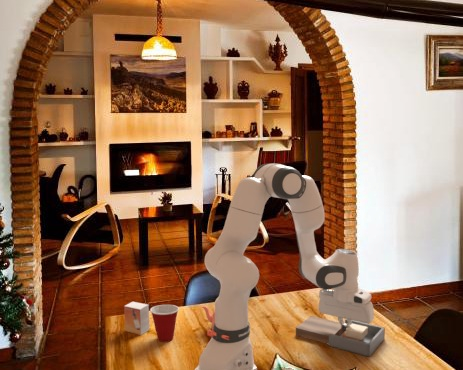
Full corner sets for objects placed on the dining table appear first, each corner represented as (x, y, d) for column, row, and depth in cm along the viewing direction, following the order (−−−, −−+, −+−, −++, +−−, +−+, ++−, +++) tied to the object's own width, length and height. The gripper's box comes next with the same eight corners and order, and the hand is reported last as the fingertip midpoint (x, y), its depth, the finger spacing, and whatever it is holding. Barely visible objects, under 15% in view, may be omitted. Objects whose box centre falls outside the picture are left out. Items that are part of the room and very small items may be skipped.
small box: (124, 331, 194) (123, 305, 192) (133, 326, 198) (132, 300, 197) (141, 335, 190) (139, 309, 188) (150, 329, 195) (148, 304, 193)
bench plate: (331, 344, 179) (331, 337, 179) (295, 335, 187) (295, 327, 187) (345, 331, 190) (345, 324, 189) (310, 322, 198) (311, 315, 197)
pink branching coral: (244, 337, 187) (244, 311, 185) (198, 335, 189) (197, 309, 188) (248, 324, 198) (248, 299, 196) (204, 322, 201) (203, 297, 199)
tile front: (358, 345, 177) (358, 338, 177) (342, 341, 181) (342, 334, 180) (363, 338, 182) (363, 332, 182) (348, 334, 186) (348, 328, 185)
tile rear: (361, 339, 176) (361, 333, 176) (345, 335, 179) (345, 329, 179) (367, 333, 181) (367, 327, 181) (351, 329, 184) (351, 323, 184)
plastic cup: (183, 332, 191) (182, 303, 190) (175, 345, 181) (174, 314, 179) (156, 331, 193) (155, 301, 191) (147, 344, 183) (145, 313, 181)
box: (369, 357, 170) (369, 344, 169) (328, 346, 178) (328, 334, 178) (384, 339, 183) (384, 327, 182) (345, 329, 191) (345, 318, 190)
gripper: (315, 290, 184) (315, 325, 186) (369, 301, 172) (368, 338, 174) (322, 285, 189) (322, 319, 191) (375, 295, 177) (374, 332, 179)
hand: (345, 328), depth 182 cm, fingers closed
